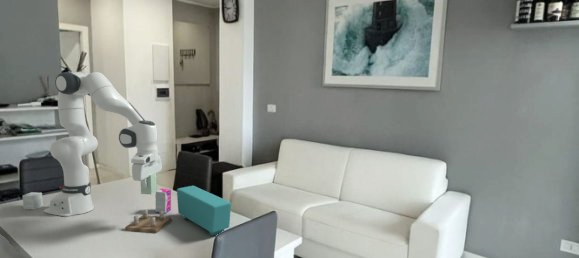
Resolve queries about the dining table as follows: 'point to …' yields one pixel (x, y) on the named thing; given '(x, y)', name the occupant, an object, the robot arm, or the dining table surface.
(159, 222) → the peg board
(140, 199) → the dining table surface
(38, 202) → the skincare box
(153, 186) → the sage block
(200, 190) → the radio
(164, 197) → the supplement box
